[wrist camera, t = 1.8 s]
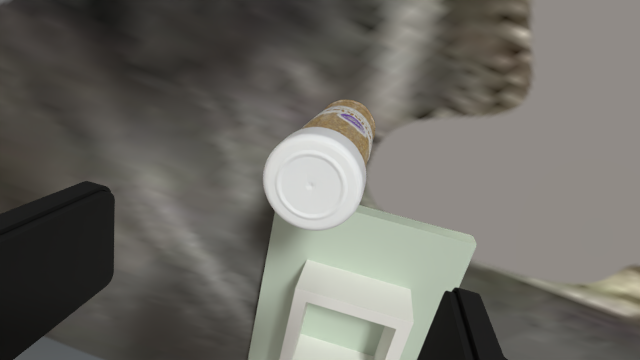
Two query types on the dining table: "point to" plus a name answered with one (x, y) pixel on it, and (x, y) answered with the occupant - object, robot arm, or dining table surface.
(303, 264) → the chute mount
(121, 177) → the dining table surface
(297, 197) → the sprinkles bottle
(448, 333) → the robot arm
